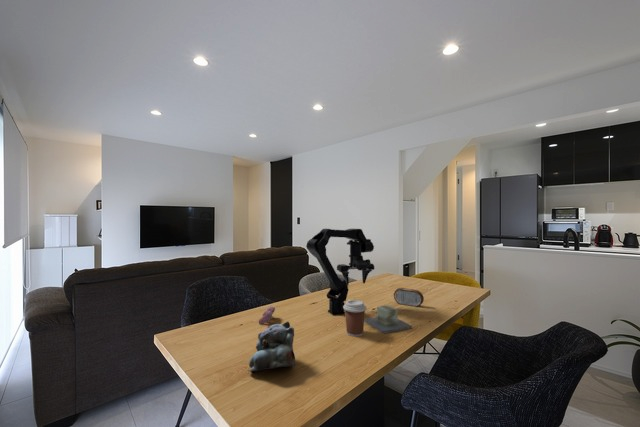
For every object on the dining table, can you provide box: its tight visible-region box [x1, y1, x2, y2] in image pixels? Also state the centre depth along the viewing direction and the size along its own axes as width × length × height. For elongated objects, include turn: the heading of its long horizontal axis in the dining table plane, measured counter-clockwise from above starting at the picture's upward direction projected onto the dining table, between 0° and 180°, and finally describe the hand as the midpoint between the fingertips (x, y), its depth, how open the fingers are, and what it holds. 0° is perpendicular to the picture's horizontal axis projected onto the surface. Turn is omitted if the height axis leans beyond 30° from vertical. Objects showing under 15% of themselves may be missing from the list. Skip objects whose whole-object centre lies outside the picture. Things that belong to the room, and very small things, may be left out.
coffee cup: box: [343, 299, 367, 337], centre depth 108 cm, size 9×9×12 cm
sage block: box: [376, 304, 399, 326], centre depth 116 cm, size 6×6×6 cm
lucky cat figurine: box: [247, 321, 296, 373], centre depth 84 cm, size 15×12×14 cm
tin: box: [393, 287, 425, 308], centre depth 143 cm, size 15×3×8 cm, turn 58°
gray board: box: [364, 316, 413, 334], centre depth 116 cm, size 14×14×1 cm
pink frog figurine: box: [258, 306, 276, 325], centre depth 121 cm, size 10×5×7 cm, turn 0°
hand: (355, 284), depth 139 cm, fingers open, 9 cm apart
